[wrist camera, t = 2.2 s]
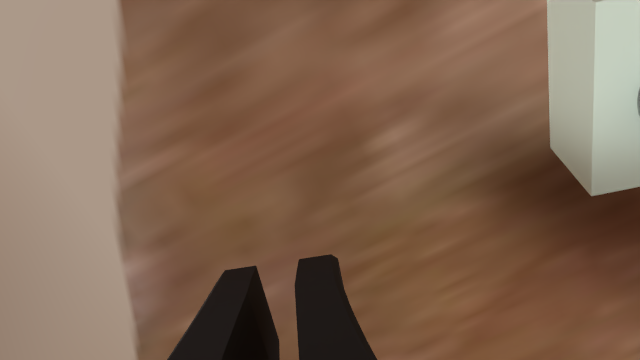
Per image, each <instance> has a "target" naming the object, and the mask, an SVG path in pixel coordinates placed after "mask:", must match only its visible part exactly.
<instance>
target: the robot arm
mask: <svg viewBox="0 0 640 360" xmlns="http://www.w3.org/2000/svg"><path fill="white" fill-rule="evenodd" d="M295 298H296V315H297V331H298V347H299V360H377V358H376V357H375V355H374V353H373V351H372V349H371V348H370V346H369V344H368V342H367V340H366V338H365V336H364V334H363V332H362V330H361V328H360V326H359V324H358V321H357V319H356V317H355V315H354V313H353V311H352V308H351V306H350V304H349V301H348V298H347V296H346V293H345V290H344V286H343V282H342V277H341V272H340V267H339V262H338V258H336V257H334V256H333V255H324V256H318V257H311V258H304V259H299V262H298V268H297V273H296V281H295ZM167 360H279V339H278V336H277V332H276V329H275V326H274V323H273V319H272V316H271V313H270V310H269V306H268V303H267V300H266V296H265V293H264V290H263V287H262V283H261V280H260V277H259V274H258V270H257V267H256V266H251V267H244V268H238V269H231V270H225V271H224V272H223V274H222V275H221V276H220V278H219V280H218V281H217V283H216V284H215V286H214V288H213V289H212V291H211V293H210V294H209V296H208V297H207V299H206V301H205V302H204V304H203V306H202V307H201V309H200V310H199V312H198V313H197V315H196V317H195V318H194V320H193V321H192V323H191V325H190V326H189V328H188V329H187V331H186V332H185V334H184V335H183V337H182V338H181V340H180V341H179V343H178V344H177V346H176V347H175V349H174V350H173V352H172V353H171V355H170V356H169V358H168V359H167Z"/></svg>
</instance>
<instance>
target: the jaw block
mask: <svg viewBox="0 0 640 360" xmlns="http://www.w3.org/2000/svg"><path fill="white" fill-rule="evenodd" d="M547 21H548V68H549V115H550V148H551V149H552V150H553V151H554V153H555V154H556V155H557V156H558V157H559V159H560V160H561V161H562V162H563V163H564V165H565V166H566V167H567V168H568V169H569V170H570V172H571V173H572V174H573V175H574V176H575V178H576V179H577V180H578V181H579V182H580V184H581V185H582V186H583V187H584V188H585V190H586V191H587V192H588V193H589V194H590V195H591V196H596V195H601V194H606V193H611V192H616V191H621V190H626V189H631V188H636V187H640V0H547Z"/></svg>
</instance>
